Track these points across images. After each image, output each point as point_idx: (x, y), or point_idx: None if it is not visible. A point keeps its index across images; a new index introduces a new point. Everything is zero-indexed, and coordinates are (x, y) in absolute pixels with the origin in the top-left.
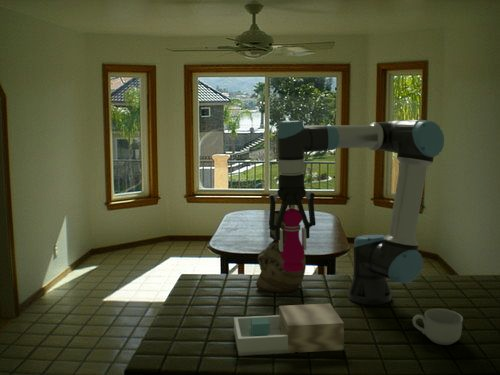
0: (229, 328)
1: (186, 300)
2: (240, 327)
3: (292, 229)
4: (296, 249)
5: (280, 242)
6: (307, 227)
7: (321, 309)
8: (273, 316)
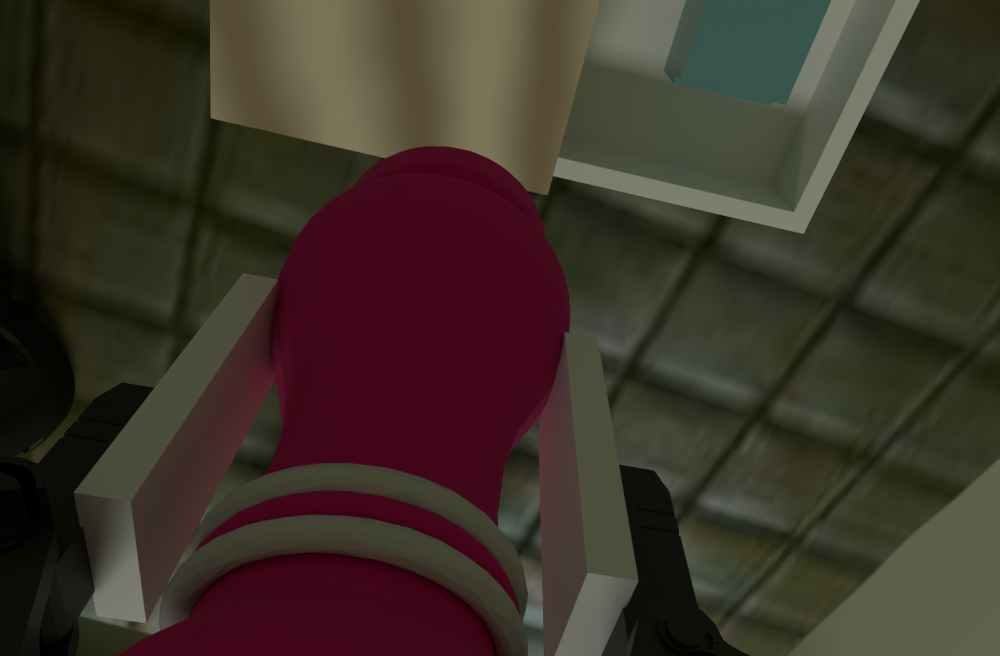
0: (767, 259)
1: (784, 580)
2: (762, 188)
3: (401, 502)
4: (402, 247)
5: (607, 417)
6: (25, 513)
7: (298, 29)
8: (587, 166)
